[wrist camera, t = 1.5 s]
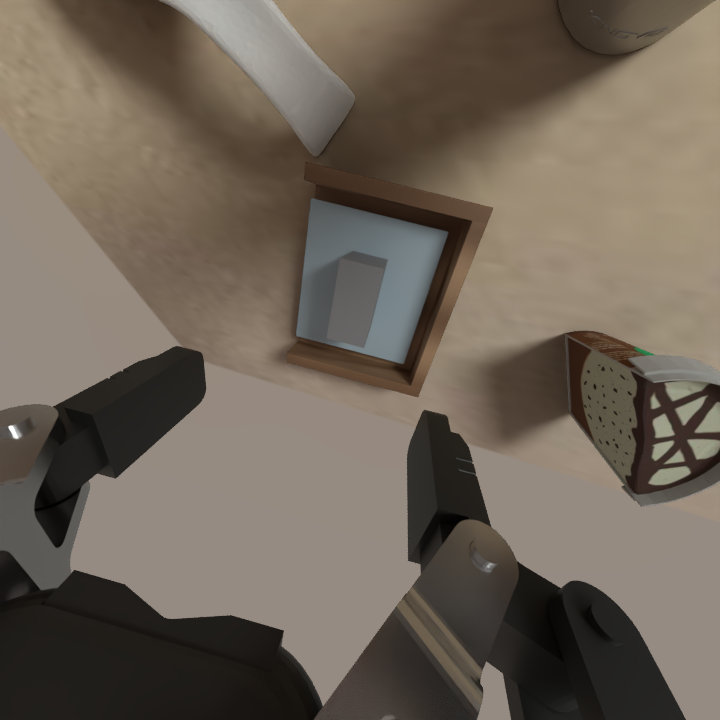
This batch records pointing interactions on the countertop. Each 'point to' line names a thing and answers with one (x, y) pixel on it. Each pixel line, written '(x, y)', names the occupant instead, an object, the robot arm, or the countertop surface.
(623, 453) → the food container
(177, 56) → the countertop surface
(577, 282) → the countertop surface
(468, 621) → the robot arm
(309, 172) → the open-fronted box
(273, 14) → the spoon rest
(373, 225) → the cover plate
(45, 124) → the countertop surface
